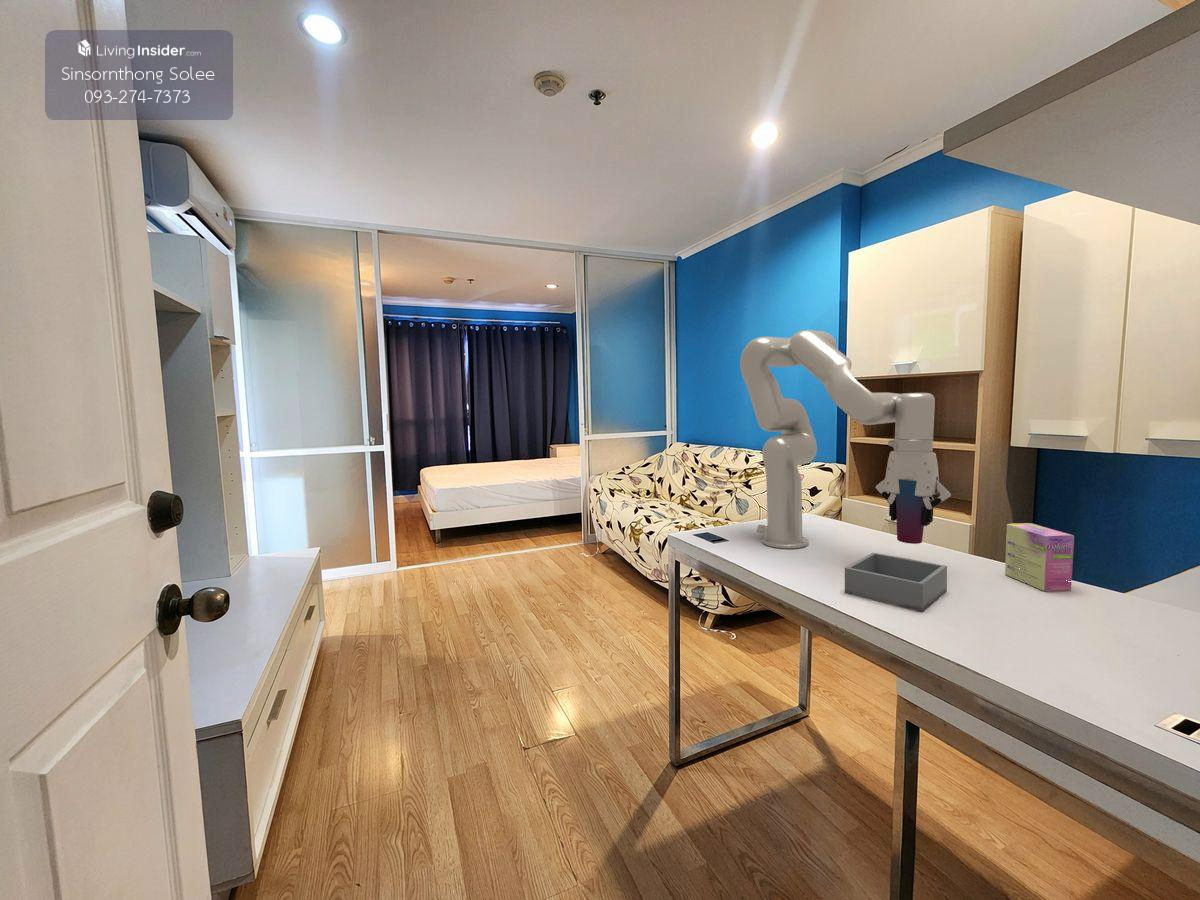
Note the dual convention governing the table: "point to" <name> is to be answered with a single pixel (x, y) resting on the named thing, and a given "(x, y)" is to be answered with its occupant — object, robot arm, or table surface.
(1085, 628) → the table surface
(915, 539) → the cup
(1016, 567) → the box
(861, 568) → the box
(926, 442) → the robot arm
